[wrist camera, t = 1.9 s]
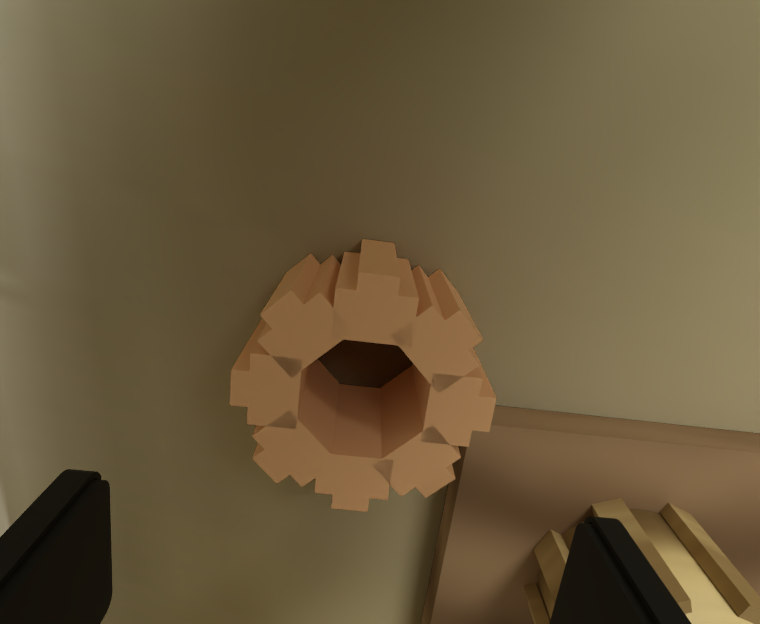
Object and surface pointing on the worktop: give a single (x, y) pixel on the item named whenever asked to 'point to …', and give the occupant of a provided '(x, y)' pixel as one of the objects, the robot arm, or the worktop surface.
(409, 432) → the terracotta gear
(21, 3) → the worktop surface
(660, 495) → the gear board
